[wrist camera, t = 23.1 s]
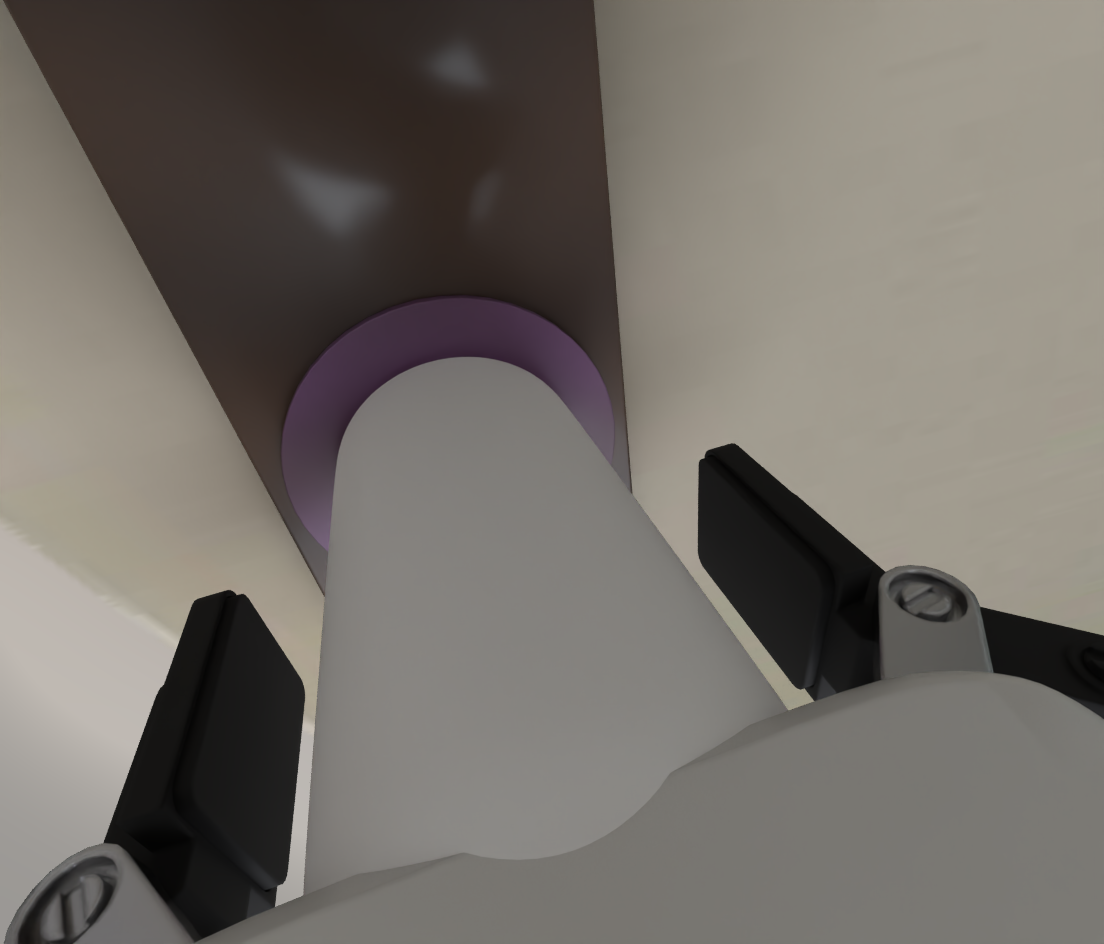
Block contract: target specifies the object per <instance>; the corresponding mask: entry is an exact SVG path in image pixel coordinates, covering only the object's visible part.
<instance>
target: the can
mask: <svg viewBox="0 0 1104 944" xmlns="http://www.w3.org/2000/svg"><path fill="white" fill-rule="evenodd" d="M786 711H788V710H787V708H786V707H785V705H784V704H783V702H782V701H781V699H780V698H779V696H778V695H777V693H776V692H775V691H774V689H773V688H772V687H771V685H770V684H769V682H768V681H767V680H766V678H765V677H764V675H763V674H762V673H761V671H760V670H759V668H758V667H757V666H756V664H755V663H754V661H753V660H752V659H751V657H750V656H749V654H748V653H747V652H746V650H745V649H744V647H743V646H742V645H741V643H740V642H739V640H738V639H737V638H736V636H735V635H734V634H733V632H732V631H731V629H730V628H729V627H728V625H727V624H726V623H725V621H724V620H723V618H722V617H721V616H720V614H719V613H718V612H717V610H716V609H715V607H714V606H713V605H712V603H711V602H710V601H709V599H708V598H707V596H706V595H705V594H704V592H703V591H702V589H701V588H700V587H699V585H698V584H697V583H696V581H695V580H694V578H693V577H692V576H691V574H690V573H689V572H688V570H687V569H686V567H685V566H684V565H683V563H682V562H681V561H680V559H679V558H678V556H677V555H676V554H675V552H674V551H673V550H672V548H671V547H670V546H669V544H668V543H667V541H666V540H665V539H664V537H663V536H662V535H661V533H660V532H659V530H658V529H657V528H656V526H655V525H654V524H653V522H652V521H651V520H650V518H649V517H648V515H647V514H646V513H645V511H644V510H643V509H642V507H641V506H640V504H639V503H638V502H637V500H636V499H635V498H634V496H633V495H632V494H631V492H630V491H629V490H628V488H627V487H626V485H625V484H624V483H623V481H622V480H621V479H620V477H619V476H618V475H617V473H616V472H615V470H614V469H613V468H612V466H611V465H610V464H609V462H608V461H607V460H606V458H605V457H604V456H603V454H602V453H601V451H600V450H599V449H598V447H597V446H596V445H595V443H594V442H593V441H592V439H591V438H590V437H589V435H588V434H587V433H586V431H585V430H584V429H583V427H582V426H581V425H580V423H579V422H578V421H577V419H576V418H575V417H574V415H573V414H572V413H571V411H570V410H569V409H568V407H567V406H566V405H565V404H564V402H563V401H562V400H561V399H560V398H559V396H558V395H557V394H556V393H555V392H554V391H553V390H552V389H551V388H550V387H549V386H548V385H547V384H545V383H544V382H543V381H542V380H540V379H539V378H538V377H536V376H535V375H533V374H531V373H530V372H528V371H526V370H524V369H522V368H520V367H517V366H515V365H512V364H509V363H506V362H503V361H499V360H494V359H489V358H481V357H454V358H446V359H440V360H436V361H432V362H428V363H425V364H422V365H419V366H416V367H414V368H411V369H409V370H407V371H405V372H403V373H401V374H399V375H397V376H395V377H394V378H392V379H391V380H389V381H388V382H386V383H385V384H383V385H382V386H381V387H380V388H378V389H377V390H376V391H375V392H374V393H373V394H371V395H370V396H369V397H368V398H367V400H366V401H365V402H364V403H363V404H362V405H361V406H360V408H359V409H358V410H357V412H356V413H355V415H354V416H353V418H352V419H351V421H350V423H349V425H348V427H347V429H346V431H345V433H344V436H343V438H342V441H341V445H340V449H339V453H338V458H337V465H336V473H335V483H334V493H333V505H332V516H331V528H330V540H329V552H328V565H327V577H326V590H325V602H324V615H323V628H322V641H321V653H320V666H319V679H318V692H317V706H316V719H315V732H314V746H313V759H312V773H311V786H310V801H309V815H308V830H307V844H306V859H305V875H304V895H306V894H309V893H311V892H314V891H316V890H319V889H321V888H324V887H326V886H329V885H331V884H334V883H336V882H339V881H341V880H343V879H346V878H348V877H351V876H354V875H356V874H361V873H368V872H375V871H381V870H387V869H392V868H397V867H402V866H407V865H412V864H417V863H421V862H426V861H431V860H435V859H440V858H444V857H448V856H452V855H456V854H460V853H463V852H464V853H468V854H473V855H477V856H481V857H487V858H496V859H513V860H523V859H538V858H544V857H550V856H556V855H559V854H563V853H566V852H570V851H573V850H576V849H578V848H581V847H583V846H586V845H588V844H590V843H592V842H594V841H596V840H598V839H600V838H602V837H604V836H606V835H607V834H609V833H610V832H612V831H613V830H615V829H616V828H618V827H619V826H621V825H622V824H623V823H624V822H625V821H627V820H628V819H629V818H630V817H632V816H633V815H634V814H635V813H636V812H637V811H638V810H639V809H640V808H641V807H643V806H644V805H645V804H646V803H647V802H648V801H649V800H650V798H651V797H652V796H653V795H654V794H655V793H656V791H657V790H658V789H659V788H660V787H661V785H662V784H663V782H664V781H665V779H666V778H667V777H668V775H669V774H670V773H671V772H673V771H675V770H676V769H678V768H680V767H682V766H684V765H686V764H687V763H689V762H691V761H693V760H694V759H696V758H698V757H700V756H701V755H703V754H705V753H706V752H708V751H710V750H711V749H713V748H715V747H716V746H718V745H720V744H721V743H723V742H724V741H726V740H728V739H729V738H731V737H732V736H734V735H735V734H737V733H738V732H740V731H741V730H743V729H744V728H746V727H747V726H748V725H751V724H753V723H756V722H759V721H761V720H764V719H767V718H769V717H772V716H775V715H778V714H781V713H783V712H786ZM304 895H303V896H304Z"/></svg>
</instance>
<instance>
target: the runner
mask: <svg viewBox="0 0 1104 944" xmlns="http://www.w3.org/2000/svg"><path fill="white" fill-rule="evenodd" d="M3 1H4V3H5V5H6V7H7V8H8V10H9V12H10V14H11V16H12V18H13V20H14V21H15V23H16V25H17V27H18V29H19V31H20V33H21V34H22V36H23V38H24V40H25V42H26V44H27V46H28V47H29V49H30V51H31V53H32V55H33V57H34V59H35V60H36V62H37V64H38V66H39V68H40V70H41V72H42V73H43V75H44V77H45V79H46V81H47V83H48V85H49V86H50V88H51V90H52V92H53V94H54V96H55V98H56V99H57V101H58V103H59V105H60V107H61V109H62V111H63V112H64V114H65V116H66V118H67V120H68V122H69V124H70V125H71V127H72V129H73V131H74V133H75V135H76V137H77V138H78V140H79V142H80V144H81V146H82V148H83V150H84V151H85V153H86V155H87V157H88V159H89V161H90V163H91V164H92V166H93V168H94V170H95V172H96V174H97V176H98V177H99V179H100V181H101V183H102V185H103V187H104V189H105V190H106V192H107V194H108V196H109V198H110V200H111V202H112V203H113V205H114V207H115V209H116V211H117V213H118V215H119V216H120V218H121V220H122V222H123V224H124V226H125V228H126V229H127V231H128V233H129V235H130V237H131V239H132V241H133V242H134V244H135V246H136V248H137V250H138V252H139V254H140V255H141V257H142V259H143V261H144V263H145V265H146V267H147V268H148V270H149V272H150V274H151V276H152V278H153V280H154V281H155V283H156V285H157V287H158V289H159V291H160V293H161V294H162V296H163V298H164V300H165V302H166V304H167V306H168V307H169V309H170V311H171V313H172V315H173V317H174V319H175V320H176V322H177V324H178V326H179V328H180V330H181V332H182V333H183V335H184V337H185V339H186V341H187V343H188V345H189V346H190V348H191V350H192V352H193V354H194V356H195V358H196V359H197V361H198V363H199V365H200V367H201V369H202V371H203V372H204V374H205V376H206V378H207V380H208V382H209V384H210V385H211V387H212V389H213V391H214V393H215V395H216V397H217V398H218V400H219V402H220V404H221V406H222V408H223V410H224V411H225V413H226V415H227V417H228V419H229V421H230V423H231V424H232V426H233V428H234V430H235V432H236V434H237V436H238V437H239V439H240V441H241V443H242V445H243V447H244V449H245V450H246V452H247V454H248V456H249V458H250V460H251V462H252V463H253V465H254V467H255V469H256V471H257V473H258V475H259V476H260V478H261V480H262V482H263V484H264V486H265V487H266V489H267V491H268V493H269V495H270V497H271V499H272V500H273V502H274V504H275V506H276V508H277V510H278V512H279V513H280V515H281V517H282V519H283V521H284V523H285V525H286V526H287V528H288V530H289V532H290V534H291V536H292V538H293V539H294V541H295V543H296V545H297V547H298V549H299V551H300V552H301V554H302V556H303V558H304V560H305V562H306V564H307V565H308V567H309V569H310V571H311V573H312V575H313V577H314V578H315V580H316V582H317V584H318V586H319V588H320V590H321V591H322V593H323V595H324V597H325V590H326V577H327V565H328V552H329V540H330V528H331V516H332V505H333V493H334V483H335V473H336V465H337V458H338V453H339V449H340V445H341V441H342V438H343V436H344V433H345V431H346V429H347V427H348V425H349V423H350V421H351V419H352V418H353V416H354V415H355V413H356V412H357V410H358V409H359V408H360V406H361V405H362V404H363V403H364V402H365V401H366V400H367V398H368V397H369V396H370V395H371V394H373V393H374V392H375V391H376V390H377V389H378V388H380V387H381V386H382V385H383V384H385V383H386V382H388V381H389V380H391V379H392V378H394V377H395V376H397V375H399V374H401V373H403V372H405V371H407V370H409V369H411V368H414V367H416V366H419V365H422V364H425V363H428V362H432V361H436V360H440V359H446V358H454V357H481V358H489V359H494V360H499V361H503V362H506V363H509V364H512V365H515V366H517V367H520V368H522V369H524V370H526V371H528V372H530V373H531V374H533V375H535V376H536V377H538V378H539V379H540V380H542V381H543V382H544V383H545V384H547V385H548V386H549V387H550V388H551V389H552V390H553V391H554V392H555V393H556V394H557V395H558V396H559V398H560V399H561V400H562V401H563V402H564V404H565V405H566V406H567V407H568V409H569V410H570V411H571V413H572V414H573V415H574V417H575V418H576V419H577V421H578V422H579V423H580V425H581V426H582V427H583V429H584V430H585V431H586V433H587V434H588V435H589V437H590V438H591V439H592V441H593V442H594V443H595V445H596V446H597V447H598V449H599V450H600V451H601V453H602V454H603V456H604V457H605V458H606V460H607V461H608V462H609V464H610V465H611V466H612V468H613V469H614V470H615V472H616V473H617V475H618V476H619V477H620V479H621V480H622V481H623V483H624V484H625V485H626V487H627V488H628V490H629V491H630V492H631V494H632V484H631V471H630V458H629V446H628V433H627V420H626V407H625V395H624V382H623V369H622V356H621V344H620V331H619V318H618V305H617V293H616V280H615V267H614V254H613V242H612V229H611V216H610V203H609V191H608V178H607V165H606V152H605V140H604V127H603V114H602V102H601V89H600V76H599V63H598V51H597V38H596V25H595V12H594V0H3Z"/></svg>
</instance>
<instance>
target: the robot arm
mask: <svg viewBox="0 0 1104 944" xmlns="http://www.w3.org/2000/svg"><path fill="white" fill-rule="evenodd" d="M698 555H699V559H700V562H701V564H702V566H703V567H704V569H705V570H706V571H707V573H708V574H709V575H710V577H711V578H712V579H713V581H714V582H715V583H716V584H717V586H718V587H719V588H720V590H721V591H722V592H723V594H724V595H725V596H726V598H727V599H728V600H729V601H730V603H731V604H732V605H733V607H734V608H735V609H736V611H737V612H738V613H739V615H740V616H741V617H742V618H743V620H744V621H745V622H746V624H747V625H748V626H749V628H750V629H751V630H752V632H753V633H754V634H755V635H756V637H757V638H758V639H759V641H760V642H761V643H762V645H763V646H764V647H765V649H766V650H767V651H768V653H769V654H770V655H771V656H772V658H773V659H774V660H775V662H776V663H777V664H778V666H779V667H780V668H781V670H782V671H783V672H784V673H785V675H786V676H787V677H788V679H789V680H790V681H791V683H792V684H793V685H794V686H795V687H796V688H798V689H804V688H805V690H806V691H807V692H808V693H809V695H810V696H811V697H812V699H813V700H814V701H815V702H812V703H809V704H806V705H803V706H800V707H798V708H795V709H792V710H789V711H786V712H783V713H781V714H778V715H775V716H772V717H769V718H767V719H764V720H761V721H759V722H756V723H753V724H751V725H748V726H747V727H746V728H744V729H743V730H741V731H740V732H738V733H737V734H735V735H734V736H732V737H731V738H729V739H728V740H726V741H724V742H723V743H721V744H720V745H718V746H716V747H715V748H713V749H711V750H710V751H708V752H706V753H705V754H703V755H701V756H700V757H698V758H696V759H694V760H693V761H691V762H689V763H687V764H686V765H684V766H682V767H680V768H678V769H676V770H675V771H673V772H671V773H670V774H669V775H668V777H667V778H666V779H665V781H664V782H663V784H662V785H661V787H660V788H659V789H658V790H657V791H656V793H655V794H654V795H653V796H652V797H651V798H650V800H649V801H648V802H647V803H646V804H645V805H644V806H643V807H641V808H640V809H639V810H638V811H637V812H636V813H635V814H634V815H633V816H632V817H630V818H629V819H628V820H627V821H625V822H624V823H623V824H622V825H621V826H619V827H618V828H616V829H615V830H613V831H612V832H610V833H609V834H607V835H606V836H604V837H602V838H600V839H598V840H596V841H594V842H592V843H590V844H588V845H586V846H583V847H581V848H578V849H576V850H573V851H570V852H566V853H563V854H559V855H556V856H550V857H544V858H538V859H523V860H513V859H496V858H487V857H481V856H477V855H473V854H468V853H464V852H463V853H460V854H456V855H452V856H448V857H444V858H440V859H435V860H431V861H426V862H421V863H417V864H412V865H407V866H402V867H397V868H392V869H387V870H381V871H375V872H368V873H361V874H356V875H354V876H351V877H348V878H346V879H343V880H341V881H339V882H336V883H334V884H331V885H329V886H326V887H324V888H321V889H319V890H316V891H314V892H311V893H309V894H306V895H304V896H301V897H299V898H296V899H294V900H292V901H289V902H287V903H284V904H282V905H279V906H277V907H275V901H276V892H277V886H278V885H280V884H283V883H284V881H285V880H286V877H287V872H288V864H289V863H288V862H289V854H290V844H291V834H292V823H293V814H294V803H295V793H296V783H297V773H298V763H299V752H300V743H301V733H302V723H303V713H304V703H305V690H304V685H303V682H302V680H301V678H300V676H299V675H298V673H297V672H296V670H295V669H294V667H293V666H292V664H291V663H290V661H289V660H288V658H287V657H286V655H285V654H284V652H283V651H282V649H281V647H280V646H279V644H278V643H277V641H276V640H275V638H274V637H273V635H272V634H271V632H270V631H269V629H268V628H267V626H266V625H265V623H264V621H263V620H262V618H261V617H260V615H259V614H258V612H257V611H256V609H255V608H254V606H253V605H252V603H251V602H250V600H249V599H248V597H247V596H246V595H244V594H240V595H236V594H235V593H234V592H233V591H231V590H226V591H223V592H219V593H216V594H213V595H209V596H206V597H202V598H199V599H197V600H195V601H194V603H193V604H192V607H191V610H190V612H189V615H188V618H187V621H186V624H185V627H184V629H183V632H182V635H181V638H180V641H179V644H178V647H177V649H176V652H175V655H174V658H173V661H172V664H171V666H170V669H169V672H168V675H167V678H166V681H165V683H164V685H163V686H162V687H161V688H160V690H159V692H158V694H157V696H156V698H155V701H154V704H153V706H152V709H151V712H150V715H149V717H148V720H147V723H146V726H145V728H144V732H143V734H142V737H141V740H140V742H139V745H138V748H137V751H136V754H135V756H134V759H133V762H132V765H131V768H130V770H129V773H128V776H127V779H126V782H125V784H124V787H123V790H122V793H121V795H120V798H119V801H118V804H117V807H116V810H115V812H114V815H113V818H112V821H111V823H110V826H109V829H108V832H107V835H106V837H105V840H104V843H103V844H99V845H95V846H92V847H88V848H86V849H84V850H82V851H80V852H78V853H76V854H74V855H73V856H70V857H69V858H67V859H66V860H65V861H64V862H62V863H61V864H60V865H58V866H57V867H56V868H54V869H53V870H52V871H50V872H49V874H47V875H46V876H45V877H44V879H43V880H41V882H39V883H38V885H37V886H36V887H35V888H34V889H33V890H32V891H31V892H30V894H29V895H28V896H27V898H26V899H25V900H24V902H23V903H22V905H21V906H20V907H19V909H18V910H17V912H16V914H15V916H14V918H13V920H12V922H11V924H10V926H9V928H8V930H7V933H6V937H5V941H4V944H1104V636H1103V635H1099V634H1095V633H1090V632H1086V631H1082V630H1077V629H1073V628H1069V627H1065V626H1060V625H1056V624H1052V623H1047V622H1043V621H1039V620H1034V619H1030V618H1026V617H1022V616H1017V615H1013V614H1009V613H1004V612H1000V611H996V610H991V609H987V608H983V607H980V605H979V603H978V601H977V598H976V596H975V594H974V593H973V592H972V591H971V590H970V589H969V588H968V587H967V586H966V585H965V584H964V583H962V582H961V581H959V580H958V579H956V578H955V577H953V576H951V575H949V574H947V573H945V572H942V571H940V570H937V569H933V568H929V567H925V566H914V565H907V566H900V567H895V568H893V569H891V570H889V571H887V572H885V571H884V570H883V569H881V568H880V567H879V566H878V565H877V564H876V563H874V562H873V561H872V560H871V559H870V558H869V557H867V556H866V555H865V554H864V553H863V552H862V551H860V550H859V549H858V548H857V547H856V546H855V545H854V544H852V543H851V542H850V541H849V540H848V539H847V538H845V537H844V536H843V535H842V534H841V533H840V532H838V531H837V530H836V529H835V528H834V527H833V526H832V525H830V524H829V523H828V522H827V521H826V520H825V519H823V518H822V517H821V516H820V515H819V514H818V513H816V512H815V511H814V510H813V509H812V508H811V507H809V506H808V505H807V504H806V503H805V502H804V501H803V500H801V499H800V498H799V497H798V496H797V495H795V494H794V493H792V492H791V491H790V490H788V489H787V488H786V487H785V486H784V485H783V484H782V483H780V482H779V481H778V480H777V479H776V478H775V477H773V476H772V475H771V474H770V473H769V472H768V471H766V470H765V469H764V468H763V467H762V466H761V465H760V464H758V463H757V462H756V461H755V460H754V459H753V458H751V457H750V456H749V455H748V454H747V453H746V452H745V451H743V450H742V449H741V448H740V447H739V446H737V445H736V444H733V443H731V444H728V445H724V446H721V447H717V448H714V449H710V450H708V451H707V452H706V454H705V458H704V459H701V460H700V462H699V486H698Z"/></svg>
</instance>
